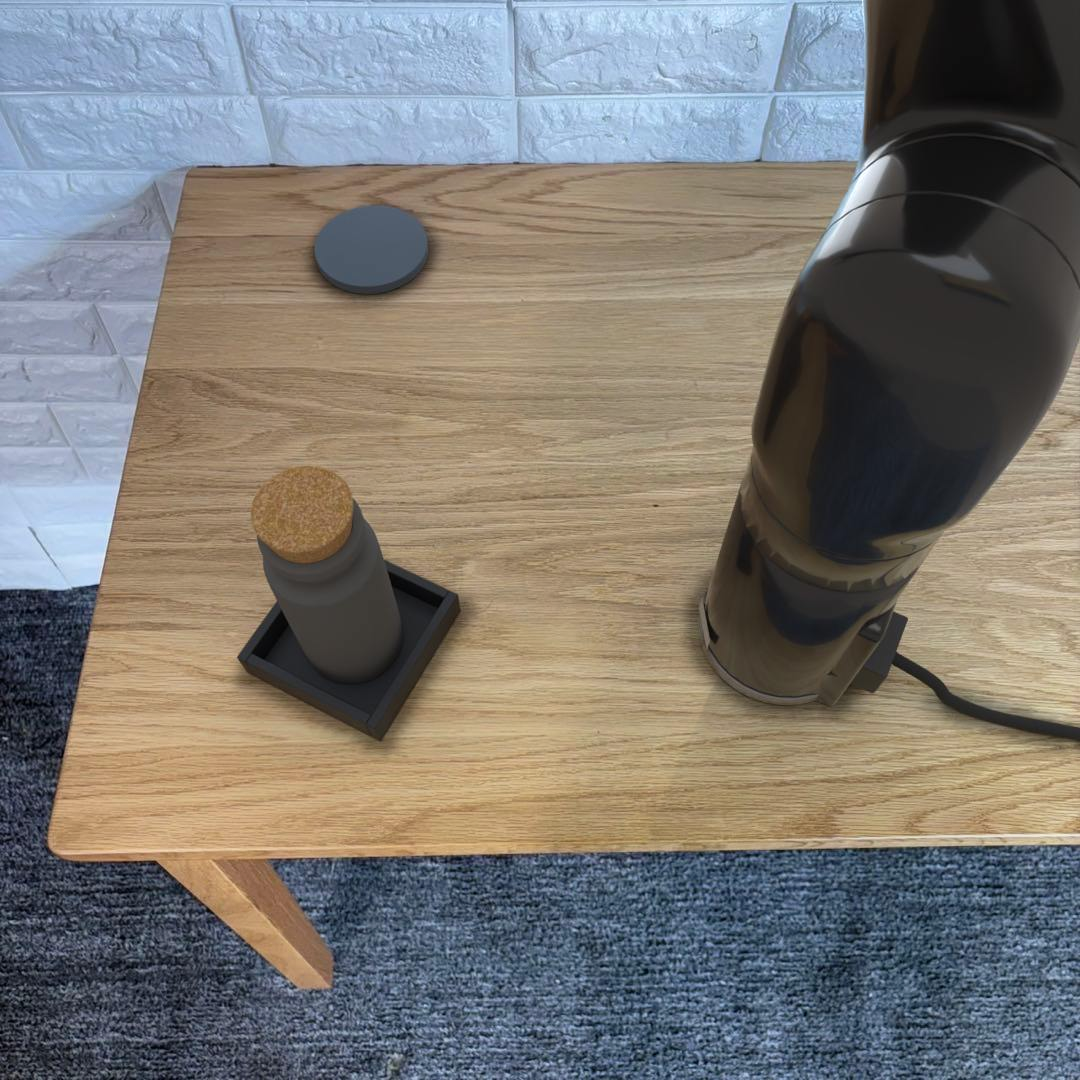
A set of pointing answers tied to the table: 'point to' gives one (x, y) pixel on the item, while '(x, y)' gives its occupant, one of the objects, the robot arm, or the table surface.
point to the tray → (373, 701)
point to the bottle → (327, 574)
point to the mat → (371, 249)
